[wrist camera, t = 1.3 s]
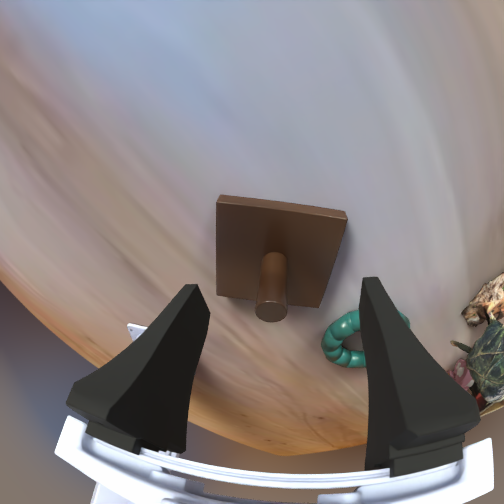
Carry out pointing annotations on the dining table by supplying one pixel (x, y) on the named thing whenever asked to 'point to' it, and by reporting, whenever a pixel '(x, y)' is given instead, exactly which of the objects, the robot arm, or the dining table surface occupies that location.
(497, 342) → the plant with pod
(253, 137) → the dining table surface
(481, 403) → the baking dish
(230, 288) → the brown peg stand
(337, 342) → the ring
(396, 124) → the dining table surface
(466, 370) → the video game controller
